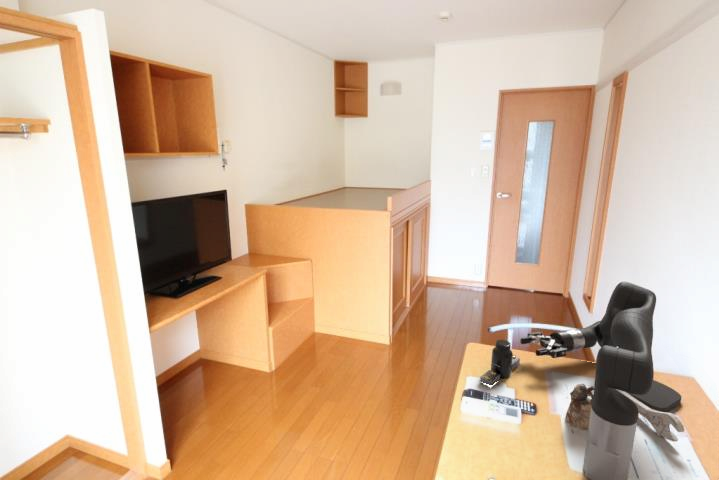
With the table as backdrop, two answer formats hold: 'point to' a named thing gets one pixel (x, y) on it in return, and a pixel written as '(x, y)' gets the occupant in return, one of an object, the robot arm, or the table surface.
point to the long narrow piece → (493, 377)
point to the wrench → (658, 419)
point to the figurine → (580, 407)
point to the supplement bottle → (502, 358)
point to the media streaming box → (659, 397)
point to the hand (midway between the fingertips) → (528, 346)
